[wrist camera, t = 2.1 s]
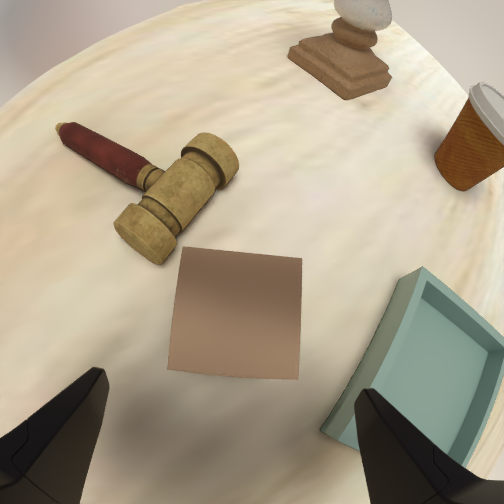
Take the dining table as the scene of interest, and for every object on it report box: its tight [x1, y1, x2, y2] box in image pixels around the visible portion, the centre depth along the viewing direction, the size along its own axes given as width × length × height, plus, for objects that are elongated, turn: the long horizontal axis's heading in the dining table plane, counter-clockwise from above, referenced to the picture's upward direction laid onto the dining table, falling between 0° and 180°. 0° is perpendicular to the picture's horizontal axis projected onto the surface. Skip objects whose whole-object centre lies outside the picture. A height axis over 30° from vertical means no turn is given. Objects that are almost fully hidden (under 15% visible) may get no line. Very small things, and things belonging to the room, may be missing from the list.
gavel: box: [56, 122, 239, 264], centre depth 23 cm, size 21×5×10 cm
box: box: [320, 266, 504, 468], centre depth 18 cm, size 14×14×4 cm
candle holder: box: [288, 0, 392, 100], centre depth 22 cm, size 11×11×24 cm
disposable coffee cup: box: [435, 82, 504, 191], centre depth 24 cm, size 10×10×12 cm
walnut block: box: [167, 247, 302, 379], centre depth 16 cm, size 5×5×10 cm
